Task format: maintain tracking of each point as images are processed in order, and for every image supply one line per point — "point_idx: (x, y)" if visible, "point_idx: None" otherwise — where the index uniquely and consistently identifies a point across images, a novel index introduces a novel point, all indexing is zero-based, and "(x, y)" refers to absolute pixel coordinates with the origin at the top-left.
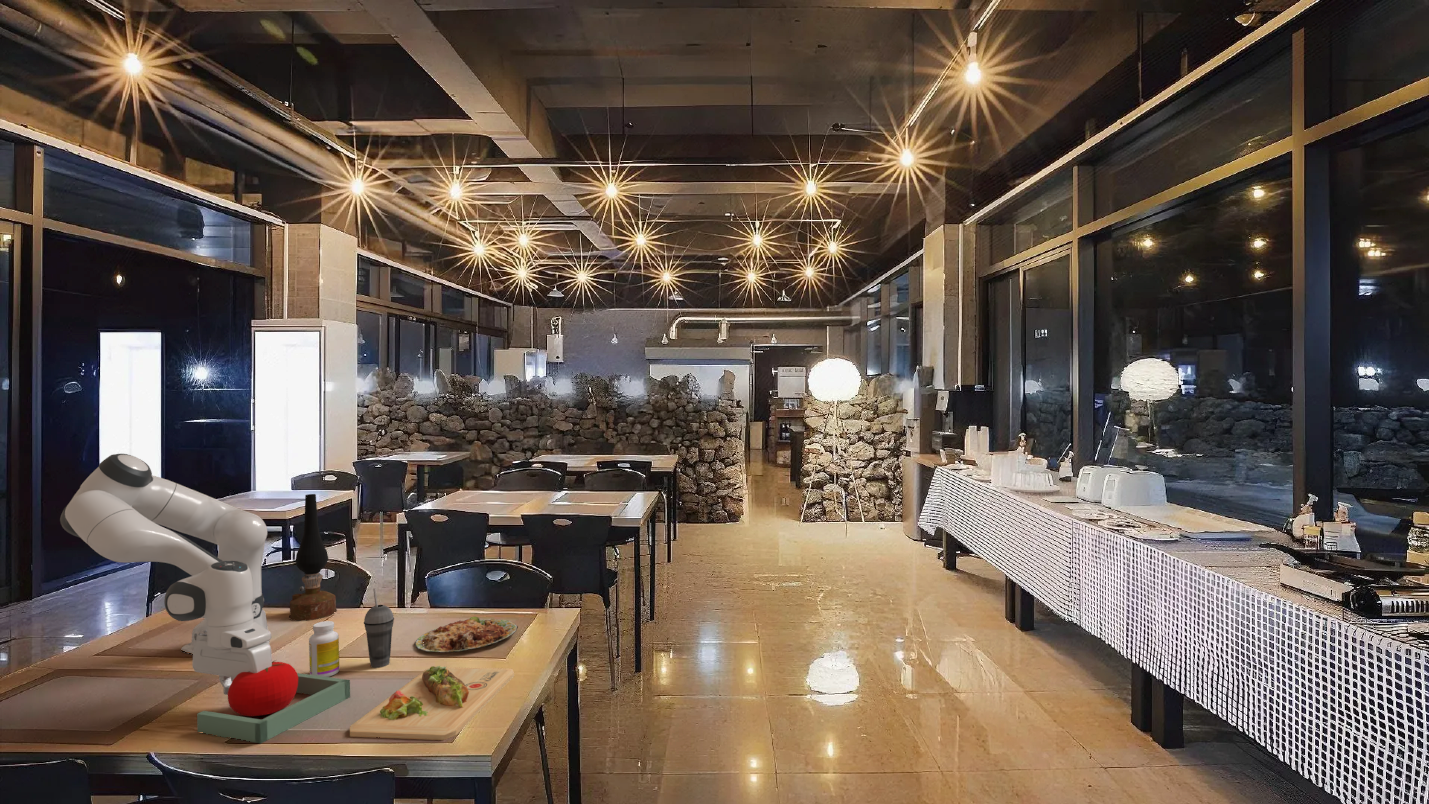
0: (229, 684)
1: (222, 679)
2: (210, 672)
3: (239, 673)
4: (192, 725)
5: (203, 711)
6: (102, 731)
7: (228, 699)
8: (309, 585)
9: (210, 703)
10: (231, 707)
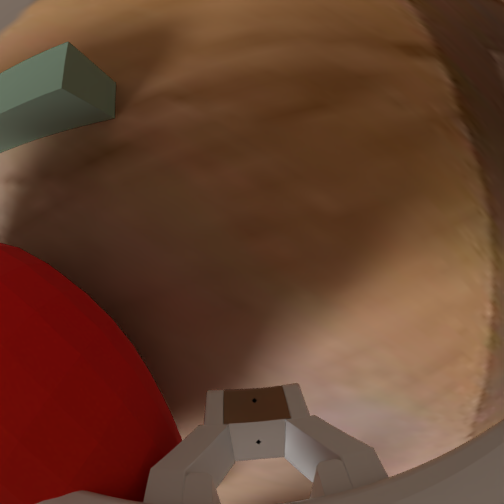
0: (292, 449)
1: (332, 462)
2: (477, 450)
3: (2, 501)
4: (237, 122)
5: (55, 80)
6: (496, 47)
7: (5, 263)
8: None
9: (402, 338)
10: (13, 246)
